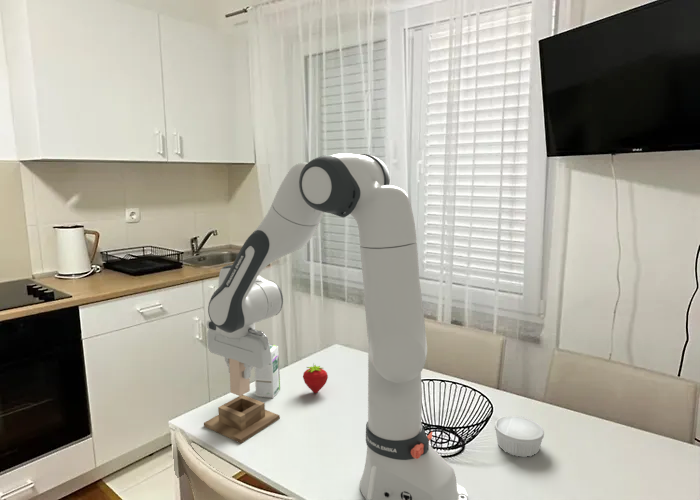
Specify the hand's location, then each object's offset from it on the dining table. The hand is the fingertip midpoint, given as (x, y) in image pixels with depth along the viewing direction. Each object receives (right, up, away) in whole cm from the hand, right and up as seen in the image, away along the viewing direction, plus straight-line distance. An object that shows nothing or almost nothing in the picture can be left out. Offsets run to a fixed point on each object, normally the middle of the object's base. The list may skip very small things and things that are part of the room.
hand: (239, 375), depth 124 cm
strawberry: (+19, -11, +19) cm, 28 cm away
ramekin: (+70, -15, -8) cm, 72 cm away
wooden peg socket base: (0, -13, +2) cm, 14 cm away
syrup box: (+4, -11, +19) cm, 22 cm away
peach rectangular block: (0, -5, +1) cm, 5 cm away
